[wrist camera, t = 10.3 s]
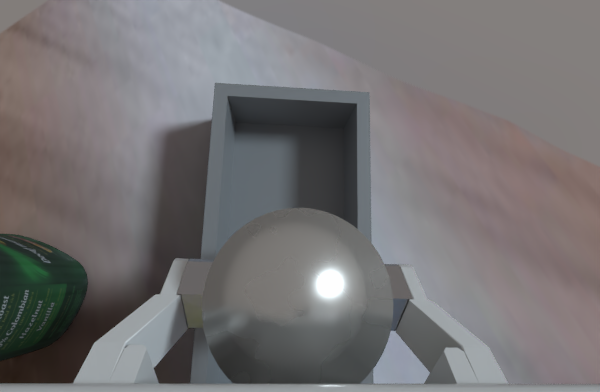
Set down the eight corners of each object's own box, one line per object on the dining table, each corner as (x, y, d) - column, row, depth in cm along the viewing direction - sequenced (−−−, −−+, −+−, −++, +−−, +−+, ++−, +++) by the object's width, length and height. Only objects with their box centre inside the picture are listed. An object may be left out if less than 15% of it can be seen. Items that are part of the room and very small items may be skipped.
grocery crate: (351, 123, 31) (369, 92, 25) (352, 393, 27) (373, 432, 21) (227, 116, 30) (215, 82, 24) (206, 393, 26) (186, 434, 20)
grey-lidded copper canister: (338, 229, 18) (392, 209, 10) (338, 334, 17) (398, 409, 9) (239, 226, 18) (207, 202, 10) (232, 333, 17) (191, 412, 9)
